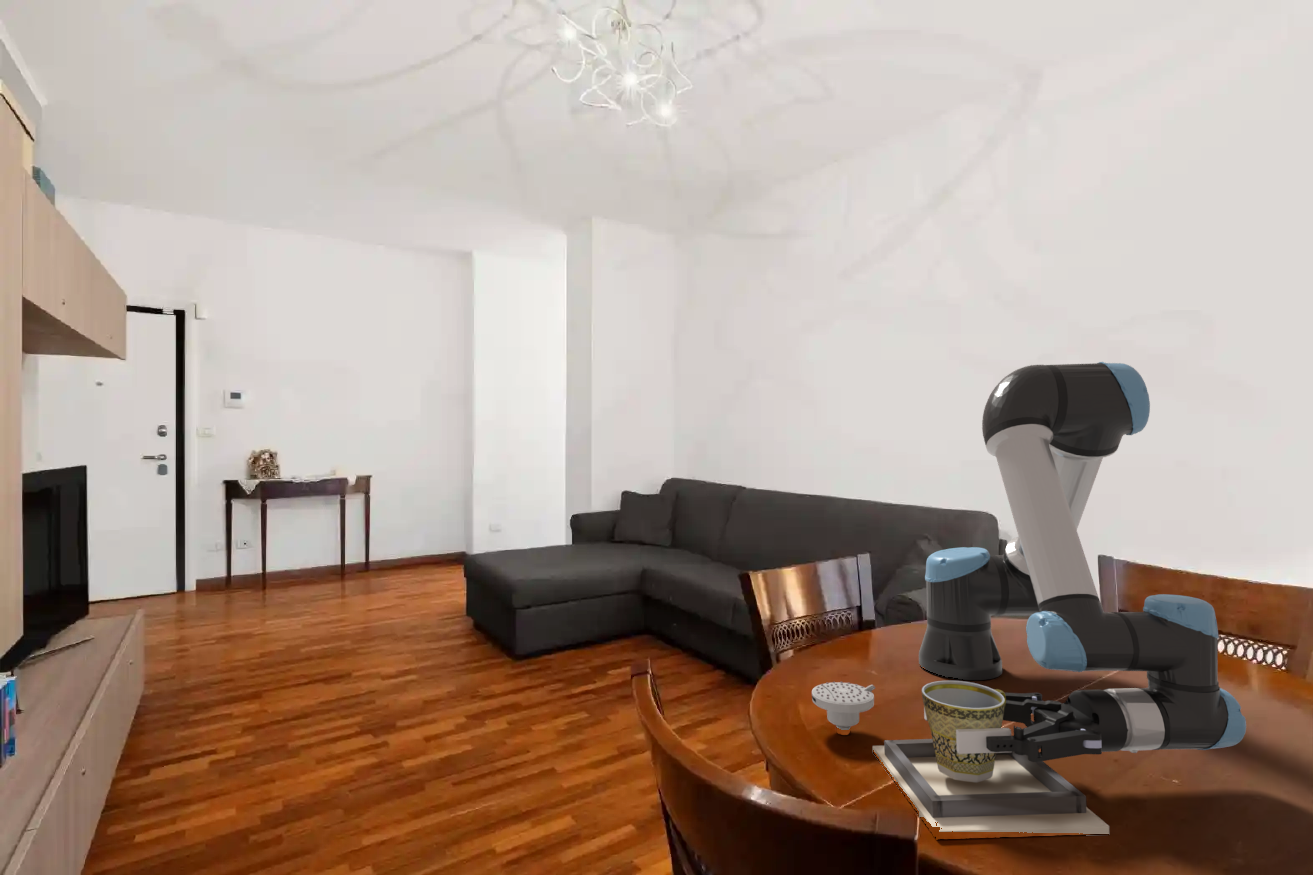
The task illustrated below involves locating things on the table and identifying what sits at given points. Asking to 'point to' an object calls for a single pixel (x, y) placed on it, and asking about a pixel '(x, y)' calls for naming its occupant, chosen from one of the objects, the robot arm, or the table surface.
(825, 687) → the showerhead
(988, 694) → the ceramic cup
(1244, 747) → the table surface
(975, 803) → the square frame board
